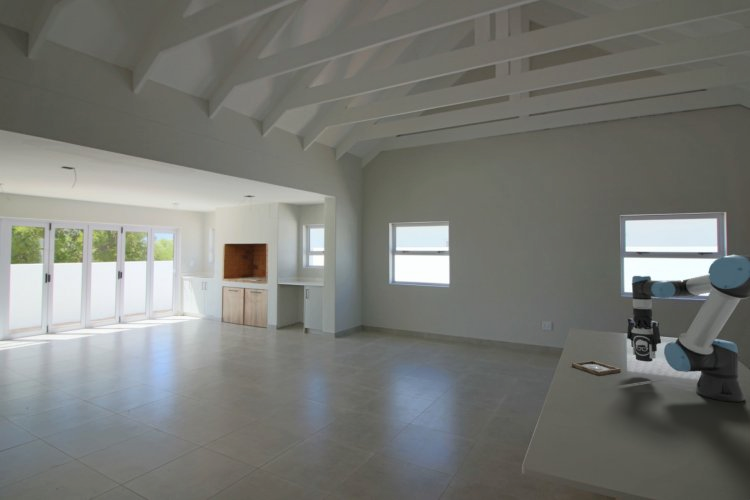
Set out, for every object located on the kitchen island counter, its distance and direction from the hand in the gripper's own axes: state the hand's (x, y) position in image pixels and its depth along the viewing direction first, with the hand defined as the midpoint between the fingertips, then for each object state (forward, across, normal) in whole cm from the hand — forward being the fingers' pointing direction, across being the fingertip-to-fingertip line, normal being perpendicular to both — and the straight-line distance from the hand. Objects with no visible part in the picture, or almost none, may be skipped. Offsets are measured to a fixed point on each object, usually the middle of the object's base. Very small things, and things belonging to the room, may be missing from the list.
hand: (644, 356), depth 188 cm
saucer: (+9, +16, +13) cm, 22 cm away
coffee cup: (+2, 0, 0) cm, 2 cm away
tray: (+10, +16, +13) cm, 23 cm away
